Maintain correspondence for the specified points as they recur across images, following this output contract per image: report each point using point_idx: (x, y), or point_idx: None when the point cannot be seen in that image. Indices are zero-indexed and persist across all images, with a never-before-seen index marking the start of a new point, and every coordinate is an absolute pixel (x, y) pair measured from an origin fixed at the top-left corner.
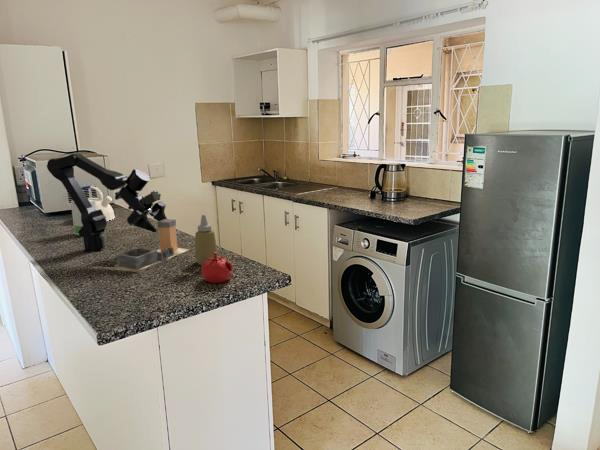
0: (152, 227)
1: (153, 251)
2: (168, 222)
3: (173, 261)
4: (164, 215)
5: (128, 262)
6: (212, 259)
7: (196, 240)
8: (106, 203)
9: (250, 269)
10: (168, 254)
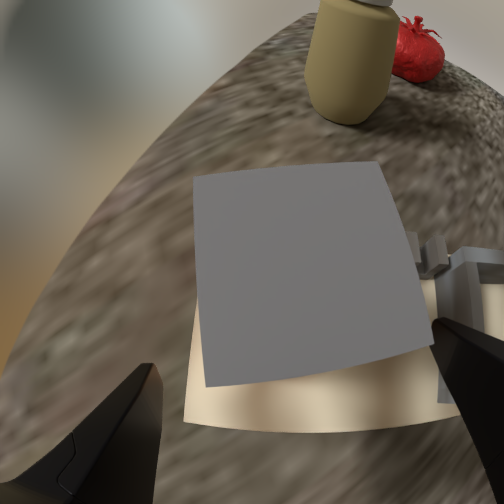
0: (483, 337)
1: (479, 252)
2: (378, 168)
3: None
4: (64, 460)
5: None
6: (428, 30)
7: (396, 40)
8: None
9: (311, 39)
10: None
